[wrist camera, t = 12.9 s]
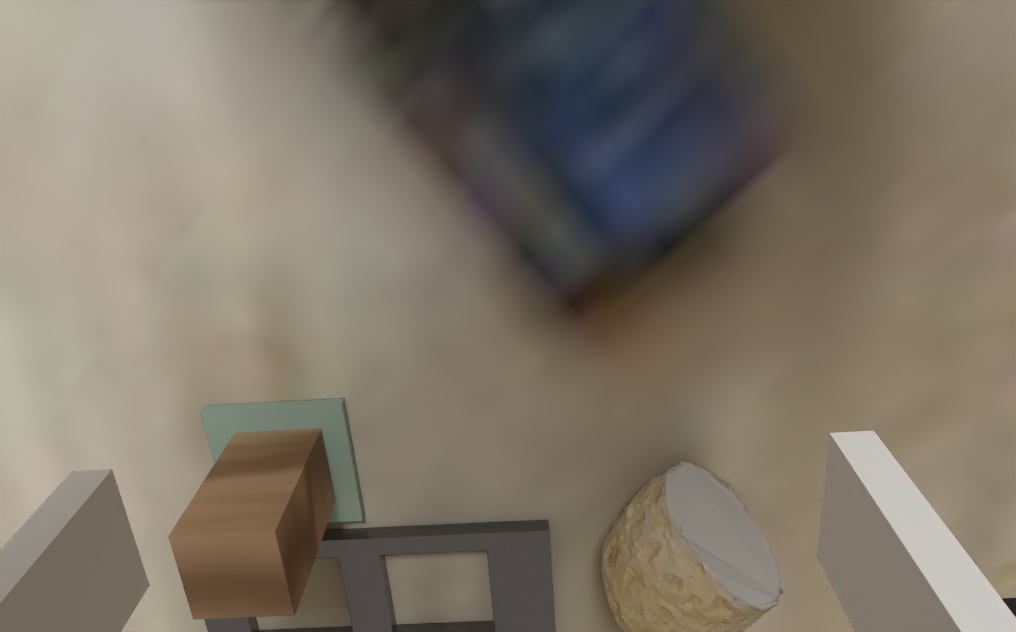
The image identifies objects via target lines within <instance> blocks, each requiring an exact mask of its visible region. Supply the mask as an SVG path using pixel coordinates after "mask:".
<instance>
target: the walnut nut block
mask: <svg viewBox="0 0 1016 632" xmlns="http://www.w3.org/2000/svg"><path fill="white" fill-rule="evenodd" d="M335 502H336V500H335V495H334V490H333V485H332V479H331V474H330V469H329V464H328V459H327V454H326V449H325V443H324V438H323V433H322V428H316V429H297V430H278V431H259V432H240V433H234V434H233V436H232V438H231V439H230V441H229V442H228V444H227V445H226V447H225V449H224V450H223V452H222V453H221V455H220V456H219V458H218V460H217V461H216V463H215V464H214V466H213V467H212V469H211V471H210V472H209V474H208V475H207V477H206V478H205V480H204V482H203V483H202V485H201V486H200V488H199V489H198V491H197V493H196V494H195V496H194V497H193V499H192V500H191V502H190V503H189V505H188V507H187V508H186V510H185V511H184V513H183V514H182V516H181V518H180V519H179V521H178V522H177V524H176V525H175V527H174V529H173V530H172V532H171V533H170V535H169V536H168V537H169V540H170V543H171V547H172V550H173V553H174V557H175V560H176V563H177V567H178V570H179V573H180V577H181V580H182V583H183V586H184V590H185V593H186V596H187V600H188V603H189V606H190V610H191V613H192V616H193V619H214V618H238V617H262V616H286V615H295V612H296V610H297V607H298V604H299V601H300V599H301V596H302V593H303V590H304V588H305V585H306V582H307V579H308V576H309V574H310V571H311V568H312V565H313V563H314V560H315V557H316V554H317V552H318V549H319V546H320V543H321V541H322V538H323V535H324V532H325V530H326V527H327V524H328V521H329V519H330V516H331V513H332V510H333V507H334V505H335Z"/></svg>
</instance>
